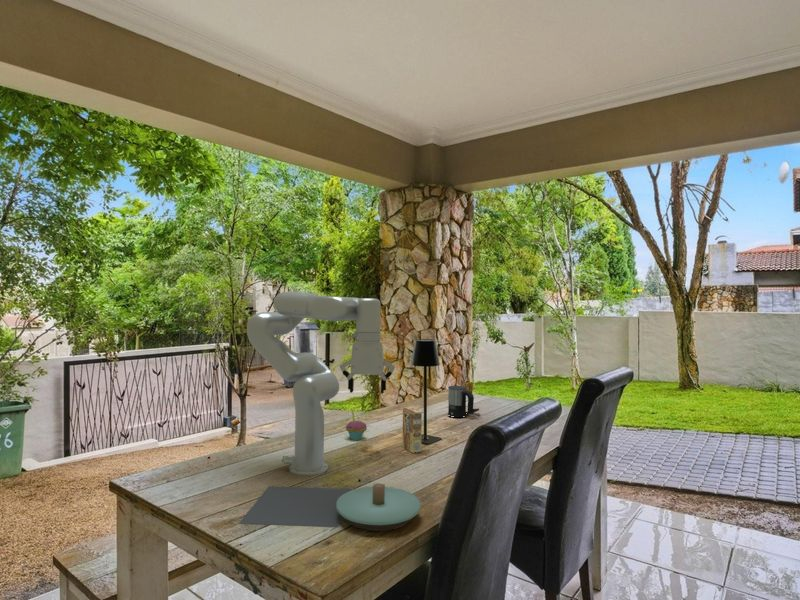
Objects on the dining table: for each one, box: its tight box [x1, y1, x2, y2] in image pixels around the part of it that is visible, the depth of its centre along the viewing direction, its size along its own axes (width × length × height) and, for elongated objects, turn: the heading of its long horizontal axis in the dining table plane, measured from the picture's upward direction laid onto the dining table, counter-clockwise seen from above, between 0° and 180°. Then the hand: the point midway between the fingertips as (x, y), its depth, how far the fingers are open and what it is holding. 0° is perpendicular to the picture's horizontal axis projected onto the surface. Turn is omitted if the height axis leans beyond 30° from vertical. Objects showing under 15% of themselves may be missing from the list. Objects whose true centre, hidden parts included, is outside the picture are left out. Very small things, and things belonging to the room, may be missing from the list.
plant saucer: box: [342, 517, 413, 532], centre depth 130 cm, size 21×21×3 cm
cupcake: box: [345, 409, 368, 441], centre depth 204 cm, size 9×8×12 cm
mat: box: [238, 485, 352, 528], centre depth 136 cm, size 25×25×1 cm
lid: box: [336, 483, 421, 525], centre depth 130 cm, size 22×22×5 cm
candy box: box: [402, 407, 423, 454], centre depth 190 cm, size 9×4×15 cm, turn 26°
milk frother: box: [447, 385, 480, 417], centre depth 248 cm, size 14×16×15 cm
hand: (366, 392), depth 154 cm, fingers open, 9 cm apart
